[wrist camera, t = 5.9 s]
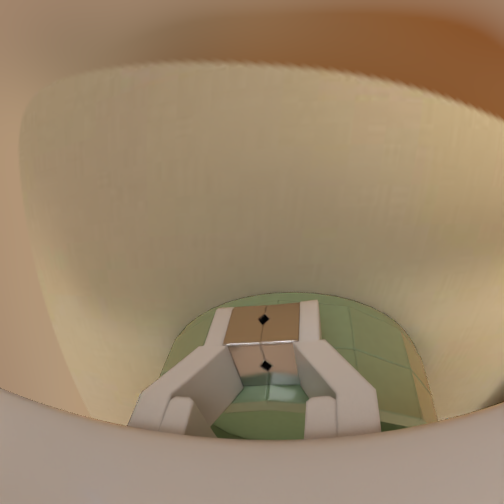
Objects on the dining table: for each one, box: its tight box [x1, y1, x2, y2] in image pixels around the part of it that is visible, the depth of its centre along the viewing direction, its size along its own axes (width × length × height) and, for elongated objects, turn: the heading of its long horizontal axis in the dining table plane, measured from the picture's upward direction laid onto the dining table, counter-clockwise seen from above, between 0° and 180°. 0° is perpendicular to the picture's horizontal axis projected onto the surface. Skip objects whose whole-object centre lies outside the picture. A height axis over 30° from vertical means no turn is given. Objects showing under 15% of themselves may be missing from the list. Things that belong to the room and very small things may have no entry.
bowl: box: [159, 292, 438, 440], centre depth 13 cm, size 13×13×5 cm
